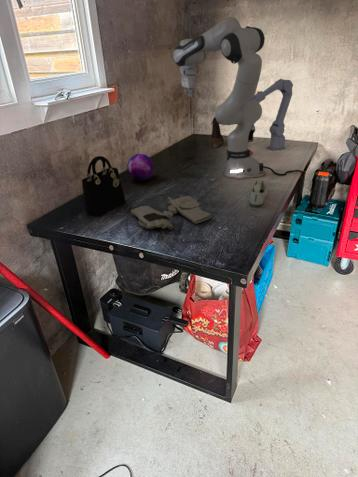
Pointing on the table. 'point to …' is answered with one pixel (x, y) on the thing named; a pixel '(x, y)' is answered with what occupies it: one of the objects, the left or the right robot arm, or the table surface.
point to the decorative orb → (140, 167)
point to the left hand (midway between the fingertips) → (188, 96)
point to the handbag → (102, 188)
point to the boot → (216, 134)
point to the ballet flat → (258, 193)
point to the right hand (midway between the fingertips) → (248, 138)
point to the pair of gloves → (170, 213)
